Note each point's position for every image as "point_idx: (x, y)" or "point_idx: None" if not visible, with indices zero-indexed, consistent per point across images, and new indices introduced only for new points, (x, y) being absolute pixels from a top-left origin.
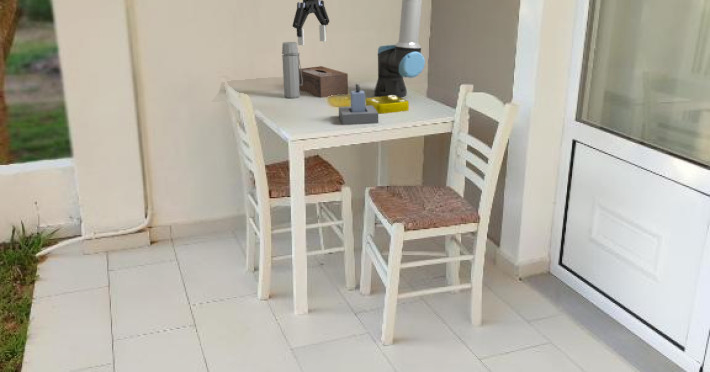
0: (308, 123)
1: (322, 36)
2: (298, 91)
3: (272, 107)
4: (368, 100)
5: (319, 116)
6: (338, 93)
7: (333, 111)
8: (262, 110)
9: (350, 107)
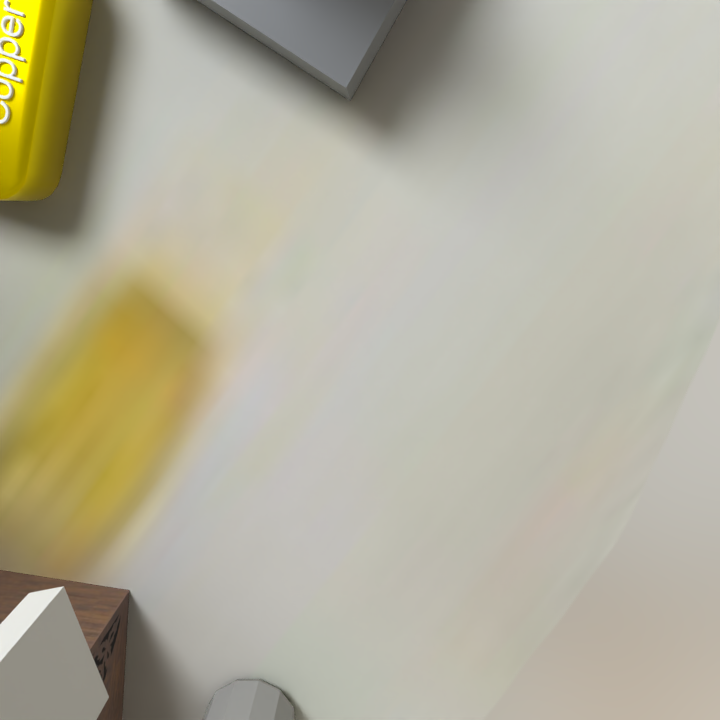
0: (615, 87)
1: (26, 714)
2: (220, 706)
3: (495, 584)
4: (32, 127)
5: (439, 198)
6: (2, 578)
7: (287, 247)
8: (584, 564)
9: (289, 4)
